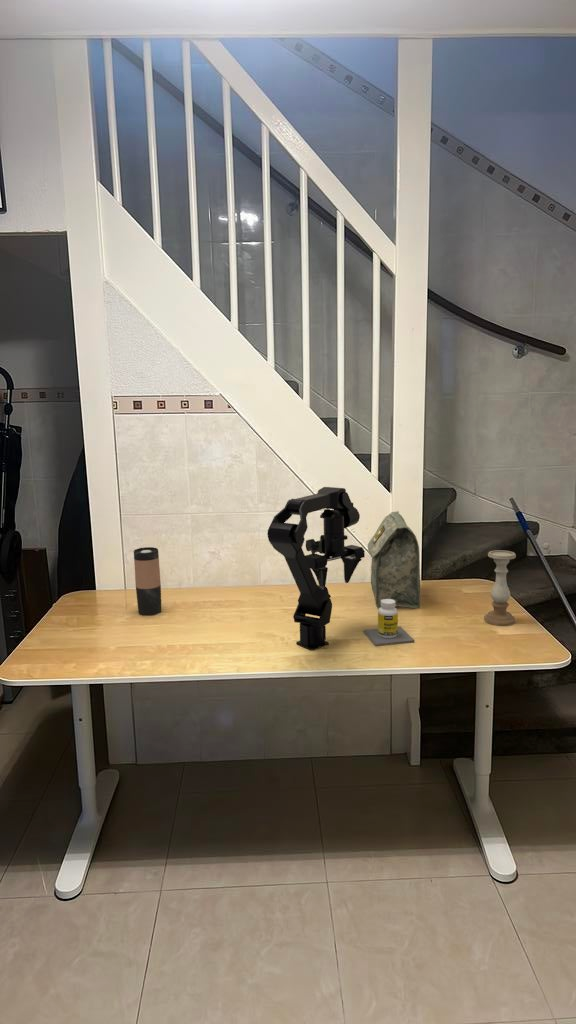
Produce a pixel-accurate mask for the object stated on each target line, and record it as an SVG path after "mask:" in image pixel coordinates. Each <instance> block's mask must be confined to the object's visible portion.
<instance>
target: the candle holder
mask: <svg viewBox="0 0 576 1024" xmlns="http://www.w3.org/2000/svg"><path fill="white" fill-rule="evenodd" d="M487 556H488V557H489V558H490V559H493V562H494V563H495V565H496V567H495V569H494V570H493V571H494V572H495V583H494V585H493V587H492V589H491V591H490V597H491V600H493V601H492V602H491V606H492V607H493V610H490V611H488V612H487V613H486V614H485V615H484V616H483V620H484V622H485V623H487V624H490V625H494V626H498V627H499V626H502V627H504V626H505V627H507V626H512V625H514V624H515V623H516V622H517V621H516V620H517V619H516V617H515V616H513V614H512V613H511V612H509V611H508V610H507V609H508V607H509V605H510V604H509V603H508V602H509V600H510V598H511V592H510V589H509V587H508V584H507V574H508V573H509V570H508V568H507V566H508V564H509V563H510V560H514V559H516V556H517V555H516V553H515V552H514V551H510V550H505V549H504V550H503V549H502V550H500V549H499V550H498V549H497V550H495V549H494V550H490V551H489V552H487Z"/></svg>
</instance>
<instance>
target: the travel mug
mask: <svg viewBox="0 0 576 1024" xmlns="http://www.w3.org/2000/svg"><path fill="white" fill-rule="evenodd" d="M159 556H160V555H159V548H157V547H154V546H153V547H152V546H151V547H150V546H148V547H147V546H146V547H139V548H135V549H134V550H133V561H134V562H133V563H134V577H135V578H134V580H135V592H136V600H137V601H136V603H137V610H138V614H139V615H141V616H144V617H145V616H146V617H147V616H155V615H158V614H160V613H162V585H161V584H162V583H161V570H160V569H161V568H160V558H159Z"/></svg>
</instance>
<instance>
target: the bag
mask: <svg viewBox="0 0 576 1024" xmlns="http://www.w3.org/2000/svg"><path fill="white" fill-rule="evenodd" d="M367 551H368V554H369V557H370V558H371V567H370V568H371V569H370V573H371V574H370V585H371V590H372V592H373V596H374V601H375V606H376V608H377V609H379V608H380V607H381V600H383V599H392V600H395V607H398V606H399V607H402V608H404V607H405V608H411V609H418V608H420V607H421V572H420V571H421V569H420V568H421V567H420V546H419V542H418V539H417V535H416V534H415V533H414V532H413V530H412V528H410V527H409V526H408V525H407V522H406V521H405V519H404V517H403V516H402V515H401V514H400V512H399V510H397V511H391V512H390V513H388V515H386V516H385V517H384V518H383V520H382V521H381V523H380V524H379V526H378V528H377V529H376V531H375V533H374V535H373V536H371V539H370V540H369V541H368V544H367Z"/></svg>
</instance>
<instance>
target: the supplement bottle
mask: <svg viewBox="0 0 576 1024" xmlns="http://www.w3.org/2000/svg"><path fill="white" fill-rule="evenodd" d="M398 621H399V611H398V608H396V606H395V600H392V599H383V600H381V607H380V608H378V610H377V628H378V635H379V636H381V637H384V638H393V637H396V636H397V633H398V632H397V631H398V627H399V625H398V623H399V622H398Z"/></svg>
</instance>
